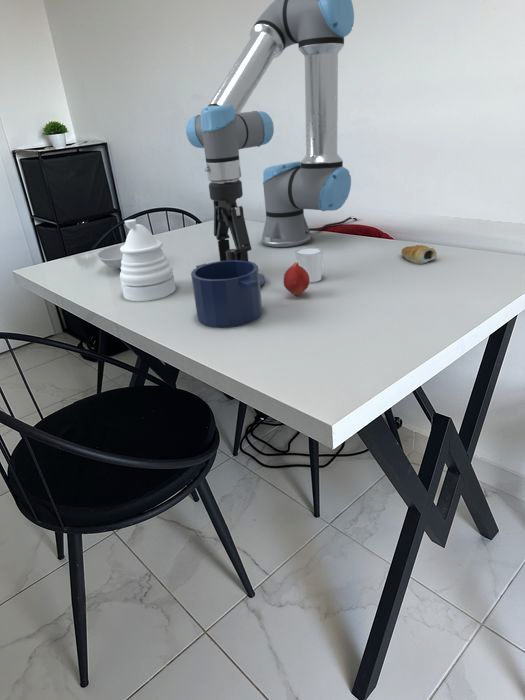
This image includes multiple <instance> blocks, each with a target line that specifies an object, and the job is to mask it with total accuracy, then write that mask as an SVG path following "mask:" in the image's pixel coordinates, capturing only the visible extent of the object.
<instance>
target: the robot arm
mask: <svg viewBox="0 0 525 700" xmlns="http://www.w3.org/2000/svg"><path fill="white" fill-rule="evenodd" d="M354 22H355V11H354V5H353V0H273V1H272V3H270V4H269V5H268V7H266V8H265V9H264V11H263V12H262V13H261V14H260V15H259V17H258V18H257V20H256V21H255V23H254V24H253V26H252V28H251V29H250V32H249V40H248V42H247V43H246V45H245V46H244V48H243V49H242V51H241V53H240V55H238V57H237V59H236V61H235V62H234V64H233V65H232V67H231V68H230V70H229V71H228V73H227V75H226V76H225V78H224V79H223V81H222V83H221V84H220V86H219V88H218V89H217V90H216V92H215V94H214V95H213V97H212V99H211V100H210V102H209V103H208V105H207V106H204V107H202V108H201V110H200V114H196V115H194V116H192V117H190V118H189V119H188V121H187V123H186V126H185V133H186V138H187V141H188V142H189V143H190V145H192V147H195V148H198V149H203V151H204V156H205V157H204V158H205V164H206V167H204V171H205V172H206V174H207V180H208V181H209V184H208V191H209V198H210V200H211V201H212V203H213V236H214V237H216V238H215V239H216V240H217V247H218V254H219V255H218V256H219V261H225V260H227V258H226V250H229V249H231V247H230V238H231V237H232V240H233V243H234V247H235V249H236V250H235V251H234V253H235V254H236V260H243V261H249V254H248V253H249V251H252V245H251V241H250V236H249V233H248V229H247V224H246V221H245V217H244V216H245V215H244V207H243V206H242V205H240V206H238V204H237V203H238V202H237V200H238V199H241V198H243V195H244V194H243V192H244V191H243V183H242V181H241V179H240V178H241V177H242V168H241V159H240V150H244V149H249V148H255V147H256V148H257V147H258V148H259V147H261V146H263V145H264V146H265V145H267V144H268V143H269V142H271V140H272V138H273V136H274V131H275V126H274V121H273V119H272V117H271V116H270V114H269V113H267V112H265V111H262V110H252V111H246V112H242V111H243V109H244V107H246V104H247V103H248V101H249V100H250V98H251V96H252V95H253V93H254V91H255V90H256V88H257V87H258V85H259V83H260V82H261V80H262V78H263V77H264V75H265V73H266V72H267V70H268V69H269V67H270V65H271V64H272V62H273V60H274V59H277V58H279V57H280V56H281V55H282V53H283V52H284V51H285V50H286V49H287V48H288V47H290V46H293V45H296V44H297V46H298V51H299V52H300V53H301V54H302V55H303V57H304V102H305V104H304V106H305V107H304V108H305V109H304V110H305V156H304V157H303V159H301V161H300V160H299V161H291V162H287V163H280V164H276V165H271V166H268V167H266V168H265V169H264V170H263V174H262V176H263V177H262V179H263V180H262V185H263V197H264V207H265V222H264V225H263V231H262V235H261V243H262V245H264V246H266V247H271V248H292V247H298V246H303V245H305V244H307V243H309V242H311V240H312V238H311V237H312V236H311V232H320V231H322V230H324V229H326V228H328V227H332V226H338V225H342V224H344V223H346V222H348V221H350V220H354V221H358V219H357V217H355V218H353V219H352V218H351V217H352V216H349V217H347V218H346V219H344V220H341V221H338V222H330V223H327V224H324V225H323V226H321V227H319V228H309V225H308V222H307V220H306V217H305V214H304V212H305V211H304V210H312V211H313V210H314V211H322V212H327V211H333V212H334V211H337V210H339V209H341V208H342V207H343V206H344V205H345V203H346V201H347V200H348V198H349V195H350V192H351V187H352V176H351V174H350V170H349V169H348V168H346V167H344V165H343V163H344V160H343V158H342V157H341V156H340V155H339V153H338V117H339V116H338V114H339V113H338V111H339V108H338V105H339V104H338V103H339V100H338V99H339V97H338V96H339V53H340V52H341V51H342V49H343V48H344V47H345V37H347V36H348V35H350V33H351V32H352V31H353V27H354ZM229 232H230V234H231V237H230V234H229Z"/></svg>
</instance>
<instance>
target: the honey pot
mask: <svg viewBox="0 0 525 700" xmlns="http://www.w3.org/2000/svg"><path fill="white" fill-rule="evenodd" d="M124 225H125V226H126V228H127V229H129V230H128V234H127V235H126V239H125V242H124V244H125V245H123V246H121V248H120V251H121V252H122V253H123V257H122V261H121V264H122V266H121V268H120V273H119V279H120V280H119V281H120V285H121V291H122V295H123V298H124V299H126V300H127V301H130V302H131V301H133V302H148V301H153V300H159V299H162V298H165V297H168V296H170V295H171V294H173V293H174V292H175V291H176V288H177V286H176V281H175V276H174V269H173V267H172V265H171V264H170V263H169V260H168V259H167V255H166V253H164V251H163V249H162V247H163V242H162V241H160V240H159V239H156V238H155V236H154V235H153V233H152V232H151V231H150V230H149V229H148V228H147V227H145V225H143V224H140V223H137V220H136V219H127V220H124Z"/></svg>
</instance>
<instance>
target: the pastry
mask: <svg viewBox="0 0 525 700" xmlns="http://www.w3.org/2000/svg"><path fill="white" fill-rule="evenodd" d="M400 254H401V255H402V257H403V258H404V259H405V260H406V261H408V262H410V263H413V264H418V265H419V264H420V265H423V264H426V263H428V262H432V261H434V260H435V259H436V258H437V251H436V249H435V248H434V247H429V246H427V245H423V244H421V245H419V244H418V245H410V246H405V247H403V248H402V249H401V251H400Z"/></svg>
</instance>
